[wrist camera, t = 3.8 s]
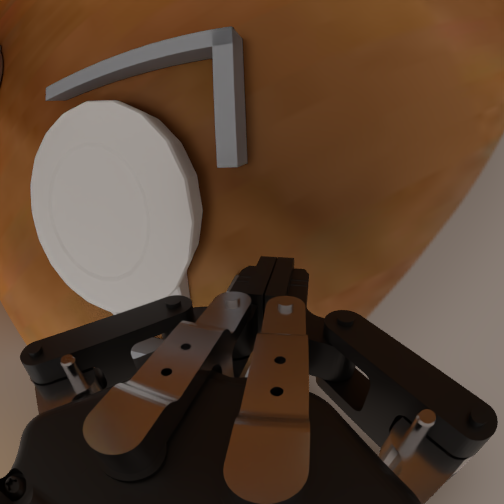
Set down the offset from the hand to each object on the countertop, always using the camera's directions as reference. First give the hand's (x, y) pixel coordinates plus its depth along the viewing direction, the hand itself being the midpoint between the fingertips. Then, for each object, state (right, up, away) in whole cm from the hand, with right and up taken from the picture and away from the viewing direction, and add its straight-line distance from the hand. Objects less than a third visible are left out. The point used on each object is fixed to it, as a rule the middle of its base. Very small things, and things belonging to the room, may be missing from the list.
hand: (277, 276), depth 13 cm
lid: (-12, +4, +9) cm, 16 cm away
